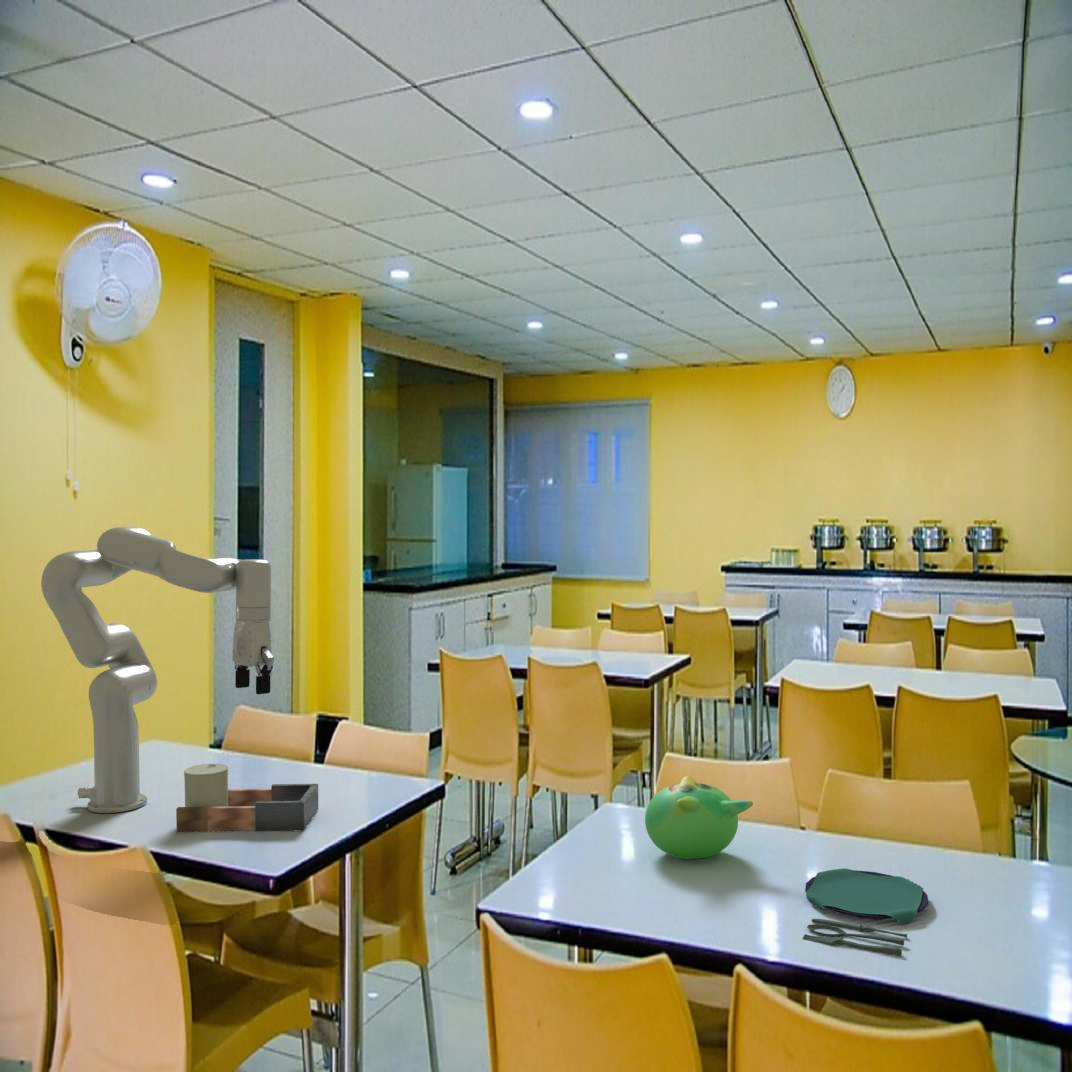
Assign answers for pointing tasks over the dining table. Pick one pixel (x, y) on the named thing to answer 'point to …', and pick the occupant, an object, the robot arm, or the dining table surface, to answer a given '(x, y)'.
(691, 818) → the toy bird
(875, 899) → the cutlery set
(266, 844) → the dining table surface
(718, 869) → the dining table surface
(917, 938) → the dining table surface
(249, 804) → the channel
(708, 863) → the dining table surface
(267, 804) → the box
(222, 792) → the can
